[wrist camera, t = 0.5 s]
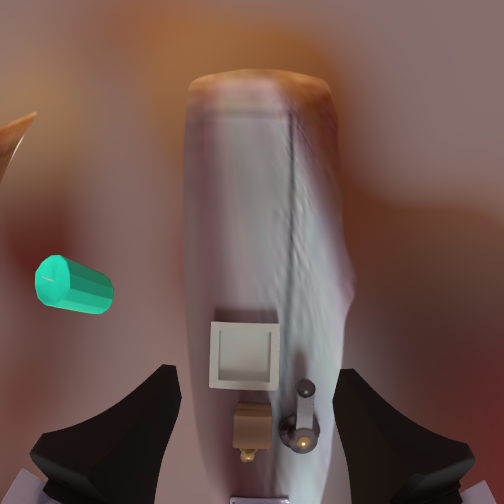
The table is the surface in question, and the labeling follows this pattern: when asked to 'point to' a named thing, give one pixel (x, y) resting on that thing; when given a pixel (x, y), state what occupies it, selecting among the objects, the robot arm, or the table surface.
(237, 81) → the table surface
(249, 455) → the crank base
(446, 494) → the robot arm
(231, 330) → the tray
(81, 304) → the candle
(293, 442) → the crank
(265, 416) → the block
